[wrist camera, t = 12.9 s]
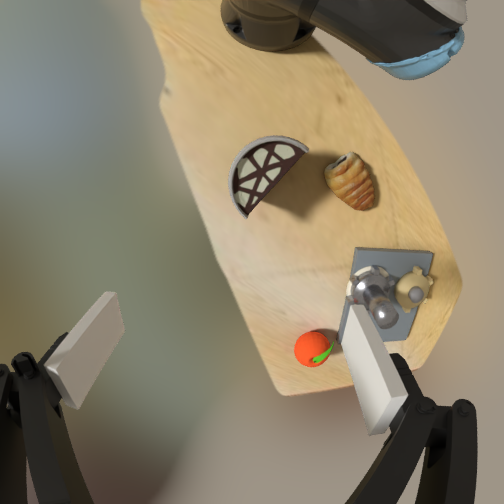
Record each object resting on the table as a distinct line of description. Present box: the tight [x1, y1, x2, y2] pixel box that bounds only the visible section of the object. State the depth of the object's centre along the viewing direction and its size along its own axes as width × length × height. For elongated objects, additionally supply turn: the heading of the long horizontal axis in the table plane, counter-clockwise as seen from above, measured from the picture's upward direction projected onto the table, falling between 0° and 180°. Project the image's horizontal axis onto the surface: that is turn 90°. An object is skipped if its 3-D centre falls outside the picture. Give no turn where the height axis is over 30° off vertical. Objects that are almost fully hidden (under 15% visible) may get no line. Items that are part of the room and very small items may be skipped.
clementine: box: [294, 332, 334, 367], centre depth 51 cm, size 8×7×7 cm
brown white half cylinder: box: [228, 136, 309, 219], centre depth 37 cm, size 12×6×10 cm, turn 139°
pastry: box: [324, 152, 375, 210], centre depth 41 cm, size 9×7×4 cm
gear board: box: [336, 247, 434, 344], centre depth 48 cm, size 20×18×5 cm
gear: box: [346, 265, 399, 329], centre depth 43 cm, size 9×8×10 cm
